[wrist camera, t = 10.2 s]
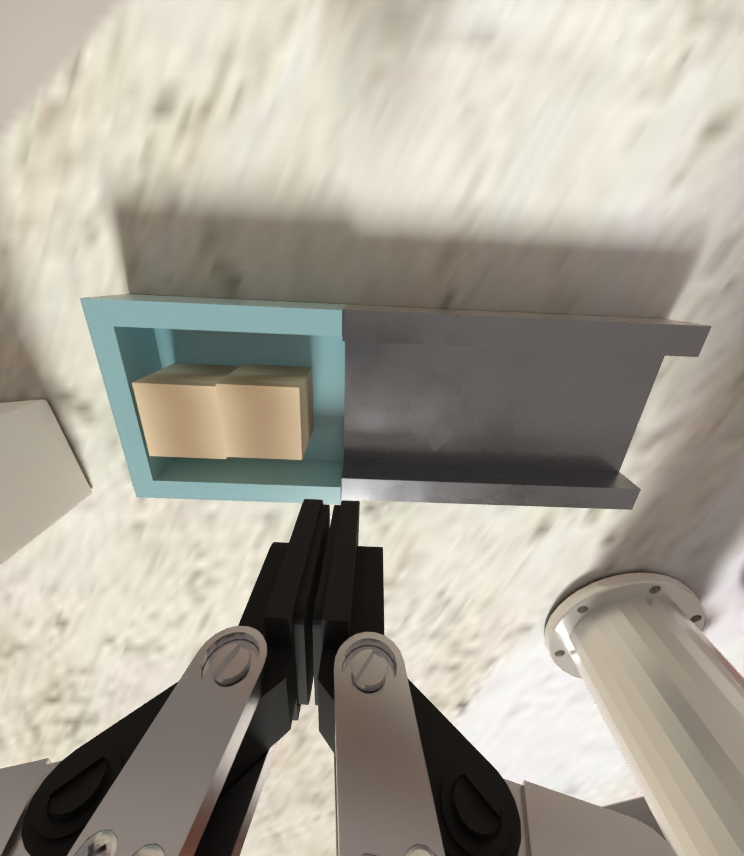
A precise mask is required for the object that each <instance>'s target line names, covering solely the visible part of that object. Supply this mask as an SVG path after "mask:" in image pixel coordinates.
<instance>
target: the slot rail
mask: <svg viewBox="0 0 744 856" xmlns="http://www.w3.org/2000/svg"><path fill="white" fill-rule="evenodd" d="M710 328H711V326H706V325H700V324H694V323H687V322H681V321H674V320H668V319H656V318H635V317H613V316H591V315H570V314H548V313H527V312H505V311H484V310H462V309H441V308H419V307H398V306H376V305H355V304H347V305H346V306H345V307H344V308H343V335H342V341H345V395H344V463H343V470H342V476H341V499H347V500H375V501H403V502H432V503H460V504H488V505H516V506H544V507H573V508H601V509H629V510H632V508H633V506H634V504H635V501H636V499H637V497H638V494H639V492H640V490H641V489H640V488H638V487H637V486H636V485H635V484H633V483H632V482H631V481H630V480H628V479H627V478H626V477H625V476H624V475H622V474H621V473H620V472H619V470H620V468H621V465H622V463H623V460H624V458H625V455H626V452H627V450H628V447H629V445H630V442H631V440H632V437H633V435H634V432H635V430H636V427H637V424H638V422H639V419H640V417H641V414H642V412H643V409H644V407H645V404H646V402H647V399H648V396H649V394H650V391H651V389H652V386H653V384H654V381H655V379H656V376H657V374H658V371H659V368H660V366H661V363H662V361H663V358H664V356H665V355H668V356H690V357H698V356H699V354H700V351H701V349H702V347H703V344H704V342H705V340H706V337H707V335H708V333H709V331H710Z"/></svg>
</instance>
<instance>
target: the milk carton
mask: <svg viewBox="0 0 744 856" xmlns="http://www.w3.org/2000/svg"><path fill="white" fill-rule="evenodd" d="M91 493H92V491H91V489H90V487H89V485H88V483H87V480H86V478H85V476H84V474H83V472H82V470H81V468H80V466H79V464H78V462H77V460H76V458H75V456H74V454H73V452H72V450H71V448H70V446H69V444H68V442H67V440H66V438H65V436H64V434H63V432H62V430H61V428H60V426H59V424H58V422H57V420H56V418H55V416H54V414H53V412H52V410H51V408H50V406H49V404H48V402H47V401H46V400H29V401H16V402H4V403H0V566H1V565H3V564H4V563H5V562H6V561H8V560H9V559H10V558H11V557H13V556H14V555H15V554H16V553H18V552H19V551H20V550H22V549H23V548H24V547H25V546H27V545H28V544H29V543H30V542H32V541H33V540H34V539H35V538H37V537H38V536H39V535H41V534H42V533H43V532H44V531H46V530H47V529H48V528H49V527H51V526H52V525H53V524H54V523H56V522H57V521H58V520H60V519H61V518H62V517H63V516H65V515H66V514H67V513H68V512H70V511H71V510H72V509H73V508H75V507H76V506H77V505H79V504H80V503H81V502H82V501H84V500H85V499H86V498H87V497H89V496H90V495H91Z"/></svg>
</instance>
